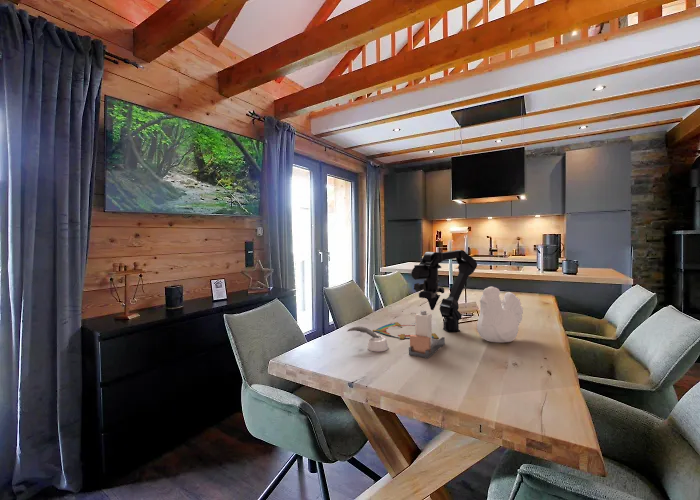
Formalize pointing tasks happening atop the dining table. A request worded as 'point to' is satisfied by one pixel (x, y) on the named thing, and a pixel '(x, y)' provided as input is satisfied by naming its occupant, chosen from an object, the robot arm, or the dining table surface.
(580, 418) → the dining table surface
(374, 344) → the inkwell
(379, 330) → the ribbon cable
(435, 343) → the rail
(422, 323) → the block
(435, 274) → the robot arm
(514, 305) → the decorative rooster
